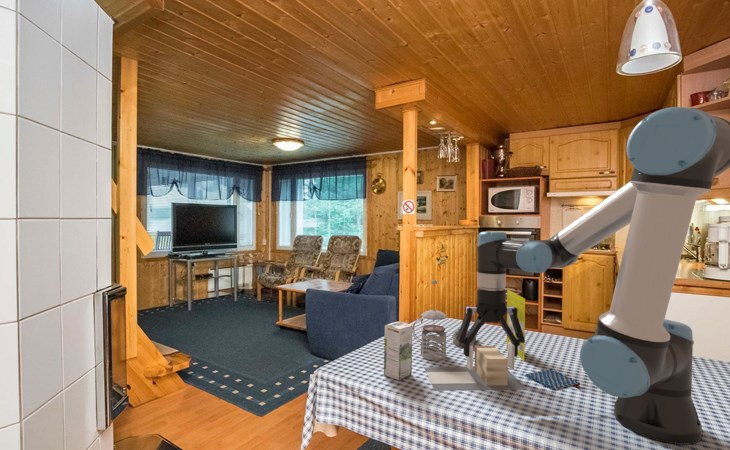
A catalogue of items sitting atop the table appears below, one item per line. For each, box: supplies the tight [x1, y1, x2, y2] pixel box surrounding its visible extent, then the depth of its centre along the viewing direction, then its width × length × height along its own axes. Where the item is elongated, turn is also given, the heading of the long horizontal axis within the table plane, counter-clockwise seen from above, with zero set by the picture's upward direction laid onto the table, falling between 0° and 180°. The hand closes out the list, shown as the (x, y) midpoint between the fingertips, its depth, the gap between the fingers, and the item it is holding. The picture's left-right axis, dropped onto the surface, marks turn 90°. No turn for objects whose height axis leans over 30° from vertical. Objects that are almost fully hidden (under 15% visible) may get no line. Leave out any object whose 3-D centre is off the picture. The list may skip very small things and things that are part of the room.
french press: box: [412, 279, 448, 361], centre depth 122 cm, size 10×12×25 cm
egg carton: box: [451, 328, 478, 347], centre depth 137 cm, size 11×8×4 cm
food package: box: [506, 289, 526, 362], centre depth 125 cm, size 15×1×20 cm, turn 179°
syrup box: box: [383, 321, 414, 381], centre depth 108 cm, size 6×6×14 cm
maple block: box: [474, 345, 509, 386], centre depth 105 cm, size 10×6×7 cm, turn 2°
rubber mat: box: [423, 366, 528, 392], centre depth 105 cm, size 15×24×1 cm, turn 92°
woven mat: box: [524, 368, 581, 392], centre depth 104 cm, size 10×11×2 cm
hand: (490, 367), depth 105 cm, fingers open, 11 cm apart
